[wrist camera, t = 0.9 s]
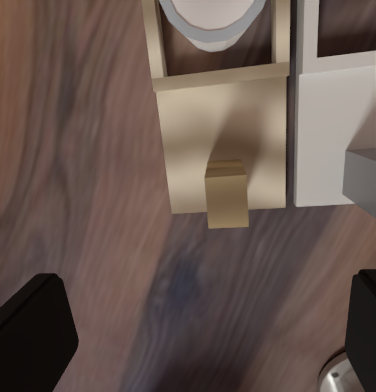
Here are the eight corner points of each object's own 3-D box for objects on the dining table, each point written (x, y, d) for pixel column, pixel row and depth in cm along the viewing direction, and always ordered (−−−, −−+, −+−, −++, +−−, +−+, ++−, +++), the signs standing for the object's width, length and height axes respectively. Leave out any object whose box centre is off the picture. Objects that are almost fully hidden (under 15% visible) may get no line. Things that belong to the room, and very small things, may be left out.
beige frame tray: (283, 203, 27) (303, 236, 20) (173, 210, 28) (159, 242, 22) (284, -85, 20) (317, -180, 13) (139, -57, 21) (103, -129, 15)
